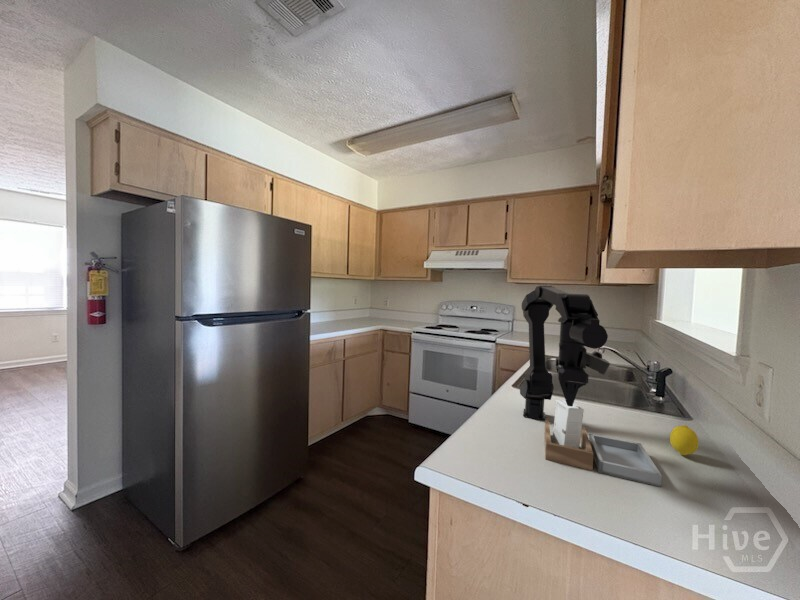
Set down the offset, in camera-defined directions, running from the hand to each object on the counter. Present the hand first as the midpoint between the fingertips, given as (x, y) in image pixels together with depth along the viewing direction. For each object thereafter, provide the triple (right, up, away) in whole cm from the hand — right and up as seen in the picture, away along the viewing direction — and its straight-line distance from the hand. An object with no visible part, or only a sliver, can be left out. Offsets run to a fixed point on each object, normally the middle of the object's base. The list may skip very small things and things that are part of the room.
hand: (568, 400), depth 83 cm
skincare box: (0, -13, +1) cm, 13 cm away
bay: (0, -13, +1) cm, 13 cm away
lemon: (+30, -14, -1) cm, 33 cm away
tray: (+10, -14, -5) cm, 18 cm away
